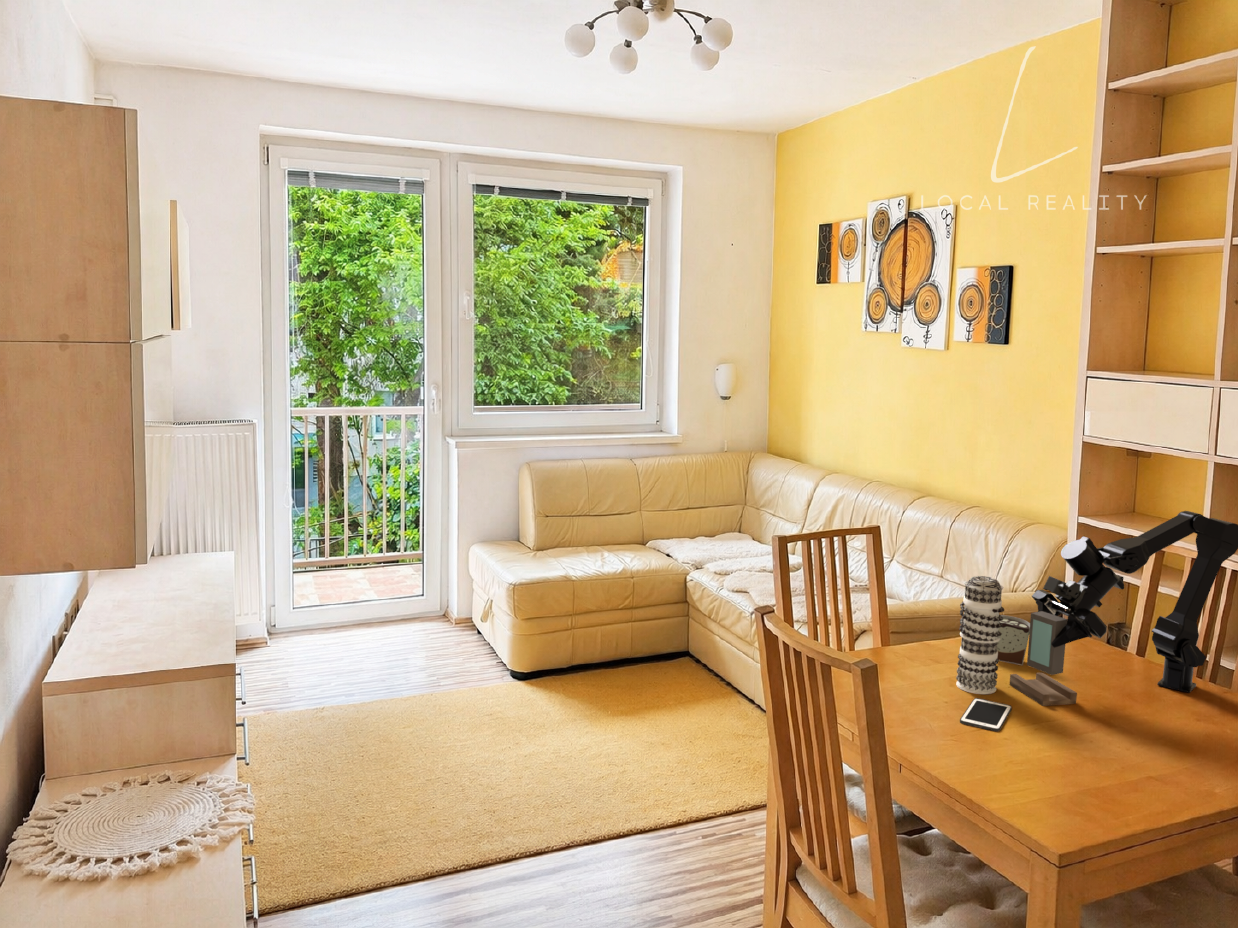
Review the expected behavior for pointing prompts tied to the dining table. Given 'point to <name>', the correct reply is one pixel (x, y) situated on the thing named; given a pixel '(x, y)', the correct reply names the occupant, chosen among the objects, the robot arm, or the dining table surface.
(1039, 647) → the grey rectangular box
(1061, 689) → the tray
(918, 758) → the dining table surface
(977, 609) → the decorative candle
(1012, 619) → the food container
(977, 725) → the cell phone
